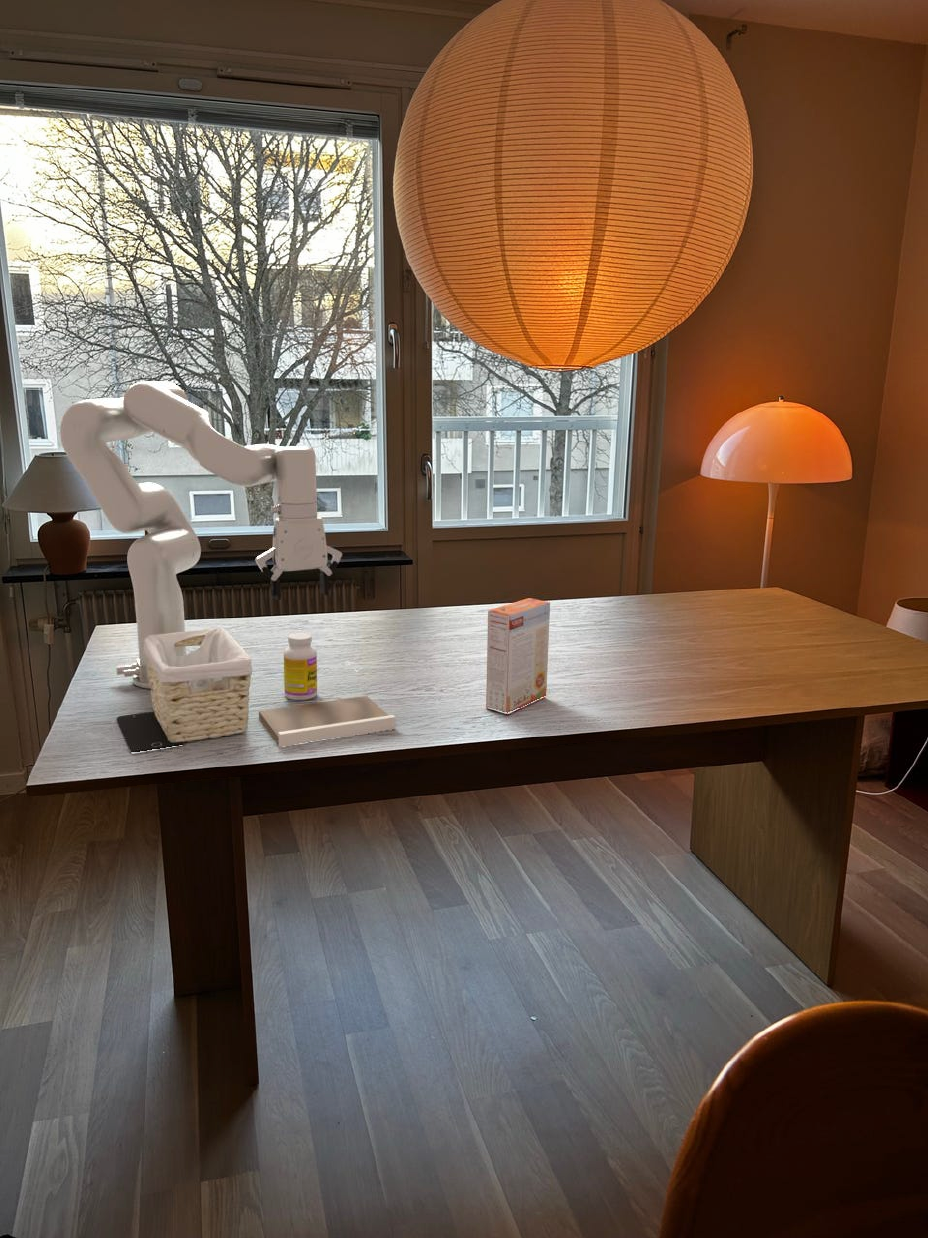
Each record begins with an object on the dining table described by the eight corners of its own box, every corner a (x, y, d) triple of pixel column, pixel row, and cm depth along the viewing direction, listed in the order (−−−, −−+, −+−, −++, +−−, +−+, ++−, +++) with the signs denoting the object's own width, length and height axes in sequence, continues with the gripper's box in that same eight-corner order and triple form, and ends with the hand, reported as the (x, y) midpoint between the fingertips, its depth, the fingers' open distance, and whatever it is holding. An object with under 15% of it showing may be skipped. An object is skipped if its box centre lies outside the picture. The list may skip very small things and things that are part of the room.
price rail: (280, 747, 159) (280, 734, 158) (278, 745, 160) (278, 732, 159) (395, 729, 168) (395, 717, 168) (392, 727, 169) (393, 714, 169)
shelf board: (278, 745, 160) (278, 737, 159) (259, 718, 172) (258, 711, 171) (392, 727, 169) (393, 719, 169) (366, 702, 181) (366, 695, 181)
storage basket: (146, 704, 177) (141, 633, 174) (228, 694, 185) (225, 625, 181) (165, 750, 157) (160, 670, 153) (257, 736, 164) (254, 659, 160)
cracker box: (523, 691, 191) (528, 596, 185) (547, 698, 187) (552, 601, 181) (483, 709, 180) (486, 608, 174) (507, 716, 176) (511, 614, 171)
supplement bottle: (310, 702, 181) (309, 641, 177) (279, 699, 182) (277, 639, 178) (322, 691, 187) (321, 632, 184) (292, 688, 188) (290, 630, 185)
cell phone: (131, 756, 154) (131, 751, 154) (116, 721, 170) (116, 716, 169) (184, 748, 158) (184, 743, 158) (164, 714, 174) (164, 709, 173)
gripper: (258, 516, 167) (262, 605, 172) (346, 511, 175) (348, 596, 179) (248, 510, 174) (253, 596, 178) (334, 506, 181) (336, 588, 186)
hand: (301, 596), depth 179 cm, fingers open, 9 cm apart
